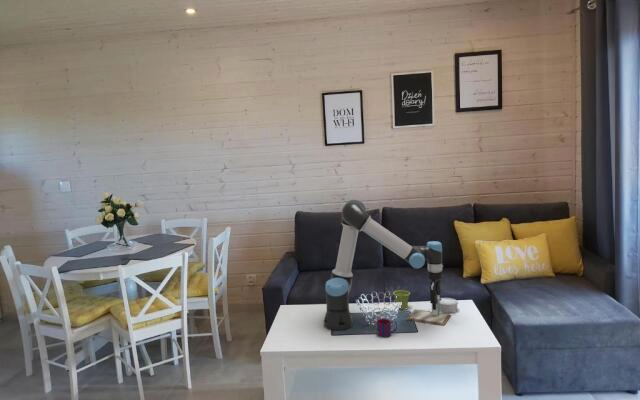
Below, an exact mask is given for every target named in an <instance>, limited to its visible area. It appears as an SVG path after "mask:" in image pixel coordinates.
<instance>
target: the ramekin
mask: <svg viewBox="0 0 640 400" xmlns="http://www.w3.org/2000/svg"><path fill="white" fill-rule="evenodd" d="M440 299H441V301H440V313H443V314H451V313H452V312H453V313H455V312H456V311H457V307H458V304H459V303H458V302H459V301H458V300H456V299H454V298H452V297H451V298H450V297H441V298H440ZM453 313H452V314H453Z"/></svg>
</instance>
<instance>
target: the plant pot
mask: <svg viewBox="0 0 640 400" xmlns="http://www.w3.org/2000/svg"><path fill="white" fill-rule="evenodd" d="M392 293H393V294H392V295H394V296H393V297H394V301H395V303H396V302H402V305H401V308H400V309H399V310H406V309H408V307H409V298H410V295H411V292H409V291H408V290H395V291H393V292H392ZM396 296H397V298H396Z"/></svg>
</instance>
